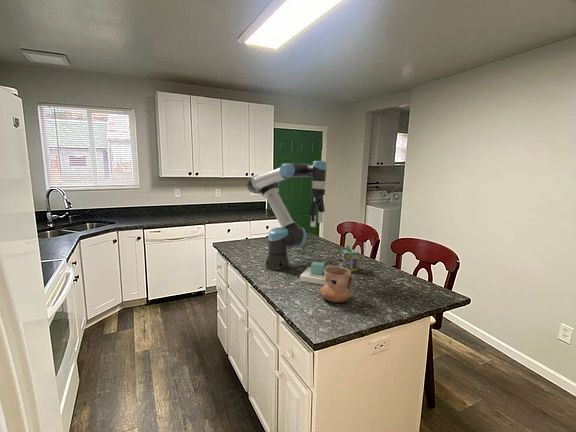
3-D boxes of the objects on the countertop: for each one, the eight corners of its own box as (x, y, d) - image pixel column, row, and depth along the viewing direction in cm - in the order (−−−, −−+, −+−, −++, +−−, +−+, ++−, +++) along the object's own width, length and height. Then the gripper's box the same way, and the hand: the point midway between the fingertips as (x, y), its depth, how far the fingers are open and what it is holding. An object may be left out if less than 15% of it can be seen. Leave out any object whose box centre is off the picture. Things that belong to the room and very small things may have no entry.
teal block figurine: (310, 279, 170) (311, 264, 169) (313, 275, 175) (313, 261, 174) (322, 280, 168) (322, 265, 167) (324, 277, 173) (325, 263, 172)
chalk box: (359, 271, 185) (360, 247, 182) (345, 272, 182) (346, 248, 180) (351, 266, 193) (353, 243, 191) (338, 267, 191) (339, 244, 188)
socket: (299, 281, 167) (299, 274, 166) (308, 271, 182) (308, 265, 181) (336, 287, 160) (336, 280, 159) (342, 276, 175) (342, 270, 174)
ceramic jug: (330, 308, 136) (332, 278, 133) (311, 295, 148) (313, 267, 146) (361, 301, 145) (363, 272, 142) (341, 290, 157) (343, 263, 155)
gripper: (318, 190, 164) (316, 229, 168) (330, 187, 187) (328, 221, 190) (304, 189, 167) (303, 227, 171) (318, 186, 190) (317, 220, 193)
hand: (316, 224), depth 181 cm, fingers open, 13 cm apart
